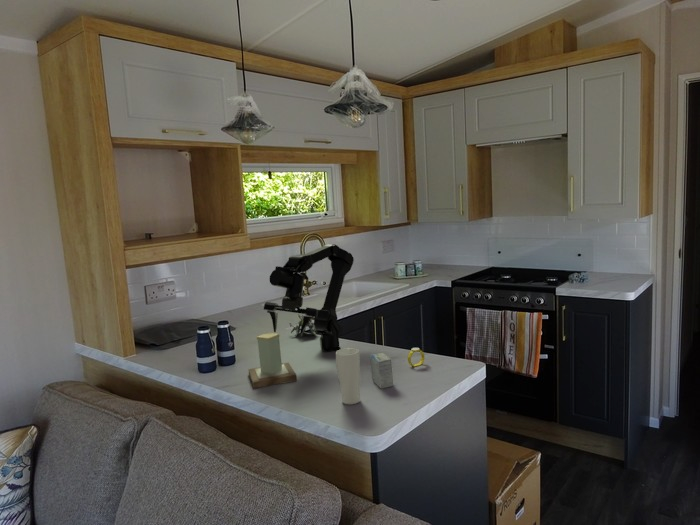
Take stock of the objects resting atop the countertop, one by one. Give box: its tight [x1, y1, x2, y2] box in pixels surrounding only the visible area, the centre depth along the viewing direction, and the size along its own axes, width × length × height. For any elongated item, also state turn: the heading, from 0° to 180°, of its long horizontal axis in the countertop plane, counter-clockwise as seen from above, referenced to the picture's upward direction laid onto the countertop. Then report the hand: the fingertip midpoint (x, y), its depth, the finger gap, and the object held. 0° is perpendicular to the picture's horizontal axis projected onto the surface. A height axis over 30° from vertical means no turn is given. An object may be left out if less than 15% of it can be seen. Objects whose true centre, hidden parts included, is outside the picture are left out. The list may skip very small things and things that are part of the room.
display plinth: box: [248, 362, 298, 389], centre depth 178 cm, size 14×14×2 cm
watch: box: [407, 347, 426, 368], centre depth 179 cm, size 6×3×6 cm, turn 118°
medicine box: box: [369, 352, 394, 389], centre depth 164 cm, size 8×4×9 cm, turn 17°
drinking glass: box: [335, 347, 361, 405], centre depth 152 cm, size 7×7×15 cm
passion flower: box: [289, 313, 317, 337], centre depth 227 cm, size 11×11×12 cm
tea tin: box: [256, 332, 283, 374], centre depth 177 cm, size 5×5×12 cm
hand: (287, 334), depth 187 cm, fingers open, 9 cm apart
